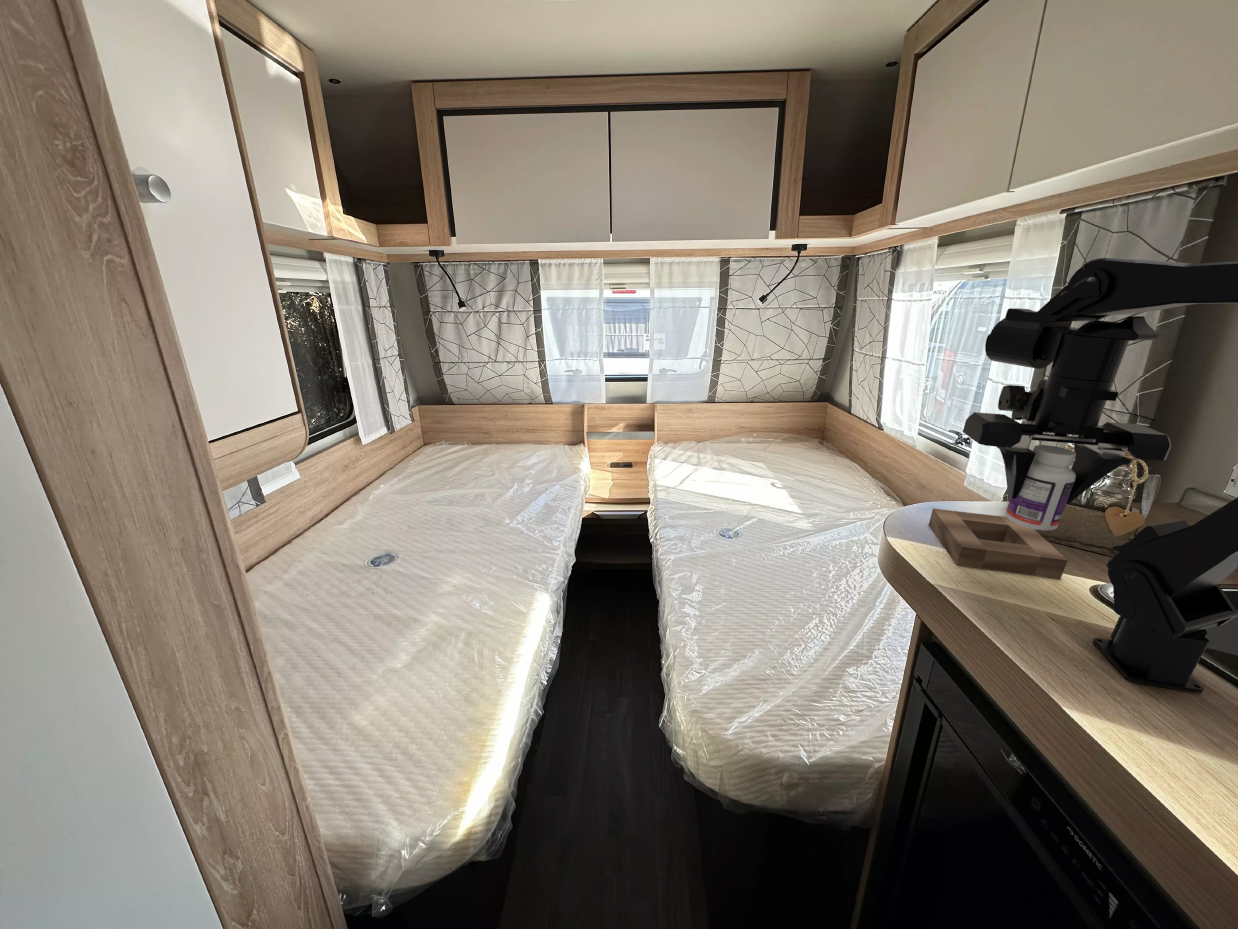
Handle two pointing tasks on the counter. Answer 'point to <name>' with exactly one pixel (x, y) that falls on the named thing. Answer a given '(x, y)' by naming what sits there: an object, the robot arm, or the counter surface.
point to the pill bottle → (1044, 489)
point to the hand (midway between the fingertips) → (1037, 500)
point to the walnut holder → (995, 544)
